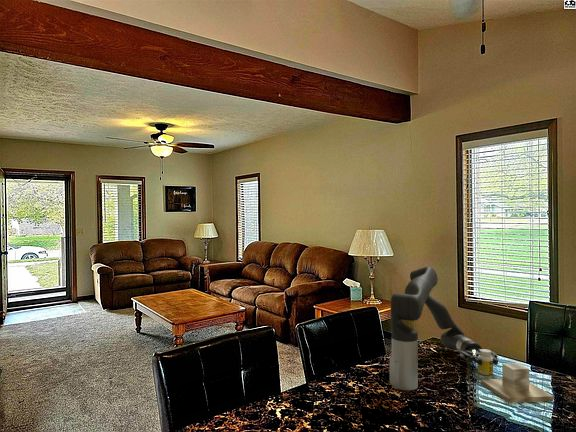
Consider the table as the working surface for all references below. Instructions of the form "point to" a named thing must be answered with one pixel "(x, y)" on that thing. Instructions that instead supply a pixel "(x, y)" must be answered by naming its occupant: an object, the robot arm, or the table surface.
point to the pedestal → (516, 385)
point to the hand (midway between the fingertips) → (488, 362)
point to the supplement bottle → (485, 364)
